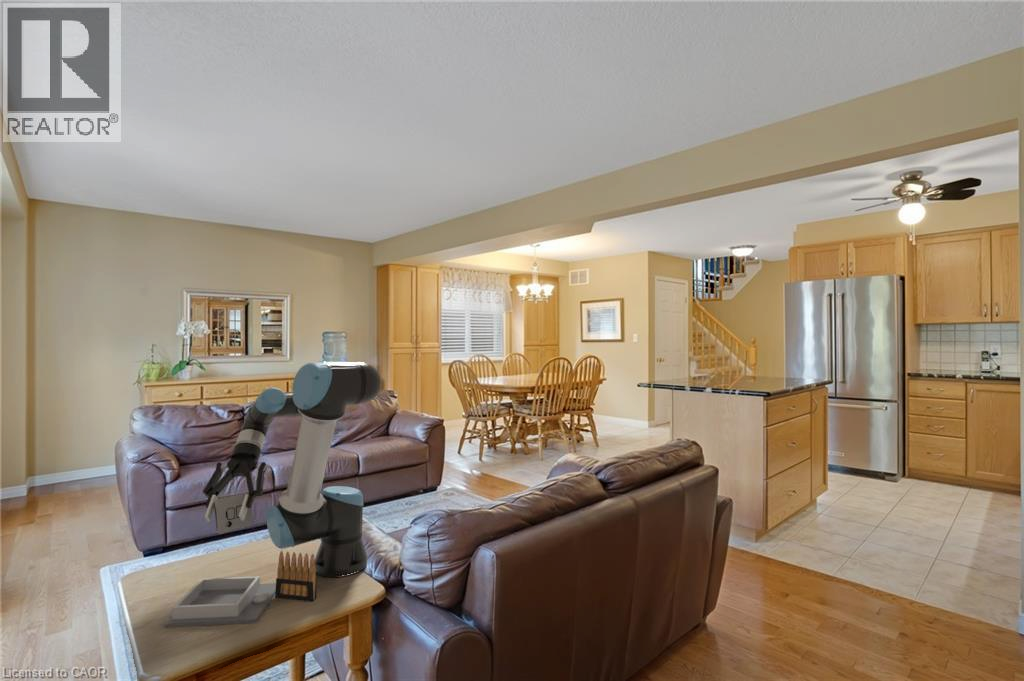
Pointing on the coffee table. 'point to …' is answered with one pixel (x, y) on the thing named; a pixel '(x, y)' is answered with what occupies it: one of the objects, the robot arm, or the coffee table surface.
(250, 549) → the coffee table surface
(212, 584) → the housing
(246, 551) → the coffee table surface
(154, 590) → the coffee table surface
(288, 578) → the ammunition clip
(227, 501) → the electrical switch
